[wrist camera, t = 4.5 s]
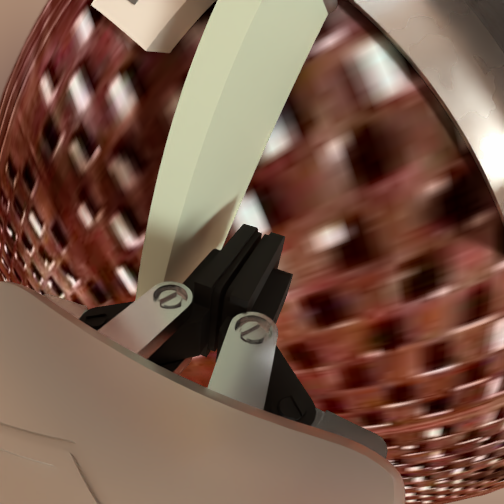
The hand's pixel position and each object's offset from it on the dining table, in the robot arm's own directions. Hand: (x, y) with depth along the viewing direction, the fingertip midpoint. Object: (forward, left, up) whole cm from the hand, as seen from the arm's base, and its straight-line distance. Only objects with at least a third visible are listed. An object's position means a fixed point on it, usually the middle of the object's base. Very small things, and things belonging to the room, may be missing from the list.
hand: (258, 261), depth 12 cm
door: (-2, -4, -4) cm, 6 cm away
